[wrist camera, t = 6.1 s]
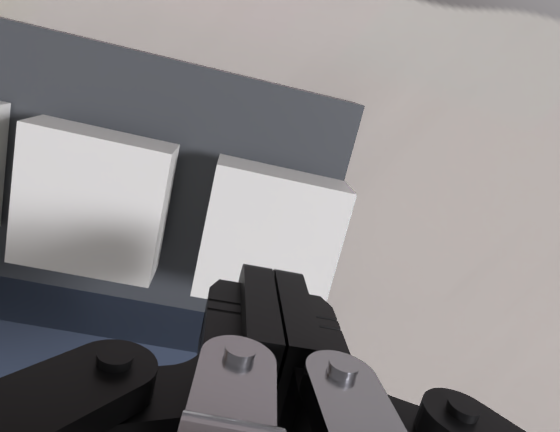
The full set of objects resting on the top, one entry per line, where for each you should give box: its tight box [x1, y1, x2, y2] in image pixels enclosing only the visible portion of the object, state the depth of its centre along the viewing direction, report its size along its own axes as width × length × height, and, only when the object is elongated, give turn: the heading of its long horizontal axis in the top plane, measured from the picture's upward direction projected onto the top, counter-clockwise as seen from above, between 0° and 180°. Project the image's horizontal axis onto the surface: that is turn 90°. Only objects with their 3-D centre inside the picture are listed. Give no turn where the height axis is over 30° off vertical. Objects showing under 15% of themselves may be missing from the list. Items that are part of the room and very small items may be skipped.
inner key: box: [190, 154, 357, 302], centre depth 17 cm, size 5×5×2 cm
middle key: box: [4, 115, 180, 288], centre depth 17 cm, size 5×5×2 cm
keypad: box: [0, 17, 364, 378], centre depth 18 cm, size 17×12×5 cm
